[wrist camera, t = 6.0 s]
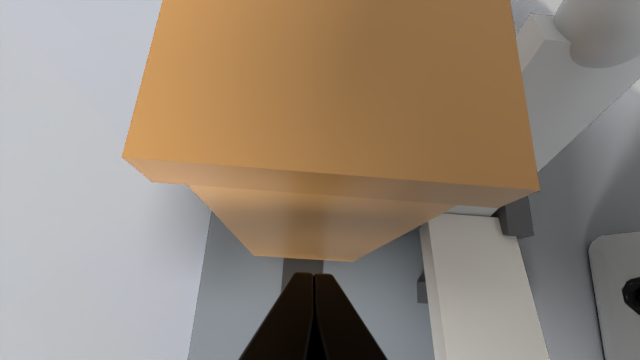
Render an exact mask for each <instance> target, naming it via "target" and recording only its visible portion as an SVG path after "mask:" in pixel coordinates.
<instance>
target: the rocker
mask: <svg viewBox="0 0 640 360" xmlns="http://www.w3.org/2000/svg"><path fill="white" fill-rule="evenodd" d="M421 226H422V227H421V228H419V230H420V239H421V247H422V255H423V264H424V272H425V280H426V289H427V297H428V305H429V314H430V322H431V330H432V339H433V347H434V355H435V360H550V358H549V354H548V351H547V347H546V343H545V340H544V336H543V332H542V329H541V325H540V321H539V318H538V314H537V310H536V307H535V303H534V299H533V296H532V292H531V288H530V285H529V281H528V277H527V274H526V270H525V266H524V263H523V259H522V255H521V252H520V248H519V244H518V241H517V237H516V236H507V235H503V234H502V230H501V226H500V222H499V218H497V217H484V216H470V215H456V214H443V213H442V214H441V215H439V216H437V217H435V218H433V219H431V220H429V221H428V222H426V223H424V224H422V225H421Z"/></svg>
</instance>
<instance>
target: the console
mask: <svg viewBox="0 0 640 360" xmlns="http://www.w3.org/2000/svg"><path fill="white" fill-rule="evenodd" d="M490 217H497V218H499V222H500V226H501V230H502V234H503V235H507V236H516V237H517V239H521V238H525V237H529V236H533V235H534V234H533V227H532V221H531V214H530V207H529V200H528V196H526V197H523V198H521V199H518V200H516V201H514V202H511V203H509V204H507V205H504V206H502V207H500V208H498V209H497V210H496V211H495V212H494V213H493V214H492V215H491V216H490ZM421 227H422V226H421V225H420V226H418V227H417V228H415V229H413V230H411V231H409V232H407V233H405V234H404V235H402V236H400V237H398V238H396V239H394V240H392V241H391V242H389V243H387V244H385V245H383V246H381V247H380V248H378V249H376V250H374V251H372V252H370V253H368V254H367V255H365V256H363V257H361V258H359V259H357V260H355V261H354V262H343V261H328V260H312V259H297V258H281V257H265V256H253V254H252V253H251V252H250V251H249V250H248V249H247V248H246V247H245V246H244V245H243V244H242V243H241V242H240V241H239V239H238V238H237V237H236V236H235V235H234V234H233V233H232V232H231V231H230V230H229V229H228V228H227V227H226V226H225V224H224V223H223V222H222V221H221V220H220V219H219V218H218V217H217V216H216V215H215V214H214V213H213V212H212V211H211V218H210V224H209V230H208V236H207V242H206V249H205V255H204V261H203V267H202V274H201V280H200V286H199V292H198V298H197V305H196V311H195V317H194V323H193V330H192V336H191V342H190V348H189V354H188V360H238V359H239V357H240V355H241V354H242V352H243V351H244V349H245V348H246V346H247V345H248V343H249V342H250V340H251V338H252V337H253V335H254V334H255V332H256V331H257V329H258V328H259V326H260V325H261V323H262V322H263V320H264V318H265V317H266V315H267V314H268V312H269V311H270V309H271V308H272V306H273V305H274V303H275V302H276V300H277V298H278V297H279V295H280V294H281V292H282V291H283V289H284V288H285V286H286V285H287V283H288V281H289V280H290V278H291V277H292V275H293V274H294V273H295V272H310V273H312V274H313V276H314V274H315V273H327V274H332V275H333V276H334V277H335V279H336V281H337V282H338V284H339V285H340V287H341V288H342V290H343V291H344V293H345V294H346V296H347V297H348V299H349V300H350V302H351V303H352V305H353V307H354V308H355V310H356V311H357V313H358V314H359V316H360V317H361V319H362V320H363V322H364V323H365V325H366V326H367V328H368V330H369V331H370V333H371V334H372V336H373V337H374V339H375V340H376V342H377V343H378V345H379V346H380V348H381V349H382V351H383V353H384V354H385V356H386V357H387V359H388V360H435V355H434V347H433V339H432V330H431V322H430V314H429V305H428V297H427V289H426V280H425V272H424V264H423V255H422V247H421V239H420V230H419V228H421Z"/></svg>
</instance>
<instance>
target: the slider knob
mask: <svg viewBox="0 0 640 360" xmlns="http://www.w3.org/2000/svg"><path fill="white" fill-rule="evenodd" d="M122 158H123V159H125V160H126V161H127V162H128V163H130V164H131V165H132V166H133V167H134V168H136V169H137V170H138V171H139V172H141V173H142V174H143V175H144V176H145V177H147V178H148V179H149V180H150V181H151V182H158V183H172V184H185V185H188V186H189V187H190V188H191V189H192V190H193V191H194V192H195V193H196V194H197V196H198V197H199V198H200V199H201V200H202V201H203V202H204V203H205V204H206V205H207V206H208V207H209V208H210V209H211V211H212V212H213V213H214V214H215V215H216V216H217V217H218V218H219V219H220V220H221V221H222V222H223V223H224V224H225V226H226V227H227V228H228V229H229V230H230V231H231V232H232V233H233V234H234V235H235V236H236V237H237V238H238V239H239V241H240V242H241V243H242V244H243V245H244V246H245V247H246V248H247V249H248V250H249V251H250V252H251V253H252V254H253V256H265V257H281V258H297V259H312V260H328V261H343V262H354V261H355V260H357V259H359V258H361V257H363V256H365V255H367V254H368V253H370V252H372V251H374V250H376V249H378V248H380V247H381V246H383V245H385V244H387V243H389V242H391V241H392V240H394V239H396V238H398V237H400V236H402V235H404V234H405V233H407V232H409V231H411V230H413V229H415V228H417V227H418V226H420V225H422V224H424V223H426V222H428V221H429V220H431V219H433V218H435V217H437V216H439V215H441V214H442V213H444V212H446V211H448V210H450V209H452V208H453V207H455V206H457V205H464V206H477V207H490V208H499V207H502V206H504V205H507V204H509V203H511V202H514V201H516V200H518V199H521V198H523V197H526V196H528V195H530V194H533V193H535V192H537V191H540V185H539V179H538V173H537V167H536V161H535V154H534V148H533V142H532V136H531V129H530V123H529V117H528V111H527V104H526V98H525V92H524V86H523V79H522V73H521V67H520V61H519V54H518V48H517V42H516V36H515V29H514V23H513V17H512V11H511V4H510V0H163V1H162V5H161V9H160V13H159V17H158V20H157V24H156V28H155V32H154V36H153V40H152V43H151V47H150V51H149V55H148V59H147V63H146V66H145V70H144V74H143V78H142V82H141V86H140V89H139V93H138V97H137V101H136V105H135V109H134V112H133V116H132V120H131V124H130V128H129V131H128V135H127V139H126V143H125V147H124V151H123V154H122Z"/></svg>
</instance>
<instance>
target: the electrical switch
mask: <svg viewBox="0 0 640 360" xmlns="http://www.w3.org/2000/svg"><path fill="white" fill-rule="evenodd" d="M588 253H589V259H590V266H591V272H592V278H593V285H594V291H595V297H596V304H597V310H598V316H599V323H600V329H601V335H602V342H603V348H604V355H605V360H640V231H637V232H628V233H620V234H611V235H603V236H599V237H598V238H596V239H595V240H594V241H593V242H591V244H590V248H589V251H588Z"/></svg>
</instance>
